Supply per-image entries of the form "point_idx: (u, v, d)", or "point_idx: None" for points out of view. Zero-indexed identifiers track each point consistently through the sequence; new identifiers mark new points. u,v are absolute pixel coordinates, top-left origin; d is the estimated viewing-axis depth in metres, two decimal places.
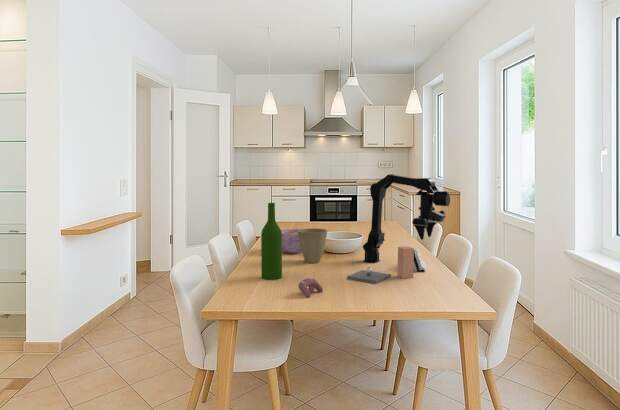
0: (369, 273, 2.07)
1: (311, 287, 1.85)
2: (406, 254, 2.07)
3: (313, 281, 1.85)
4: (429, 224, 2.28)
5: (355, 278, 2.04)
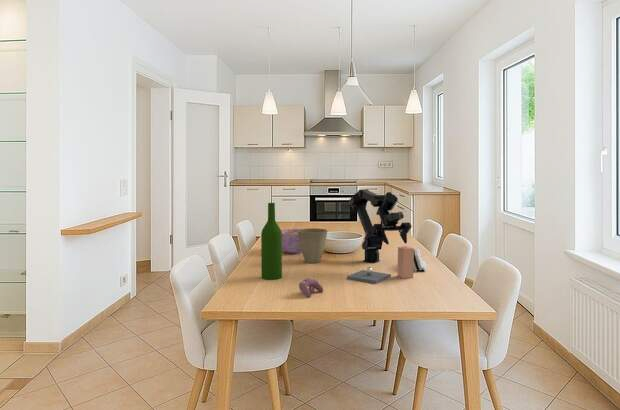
0: (369, 273, 2.07)
1: (311, 287, 1.85)
2: (406, 254, 2.07)
3: (313, 281, 1.85)
4: (402, 233, 2.22)
5: (355, 278, 2.04)
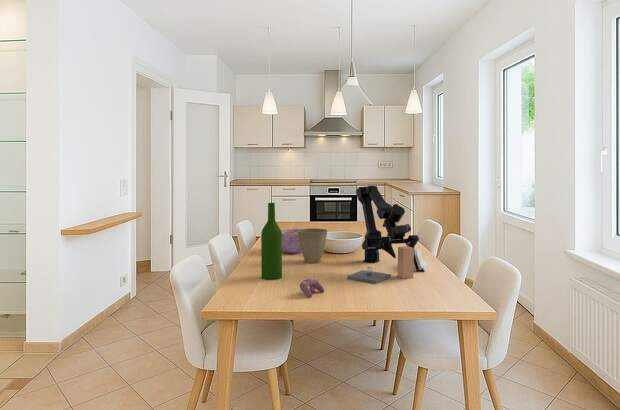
0: (369, 273, 2.07)
1: (312, 287, 1.85)
2: (406, 254, 2.07)
3: (314, 281, 1.85)
4: (409, 245, 2.16)
5: (355, 278, 2.04)
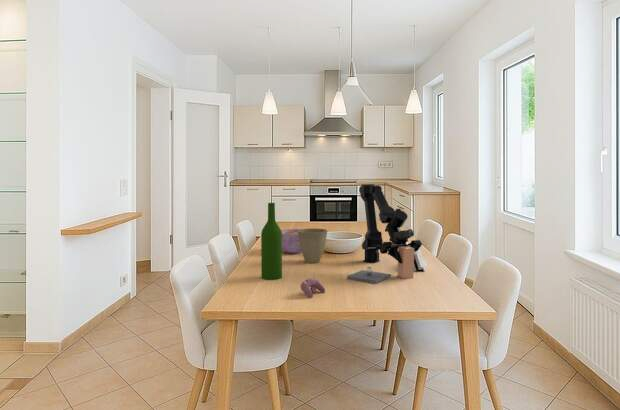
0: (369, 273, 2.07)
1: (313, 287, 1.85)
2: (406, 254, 2.07)
3: (315, 281, 1.85)
4: None
5: (355, 278, 2.04)
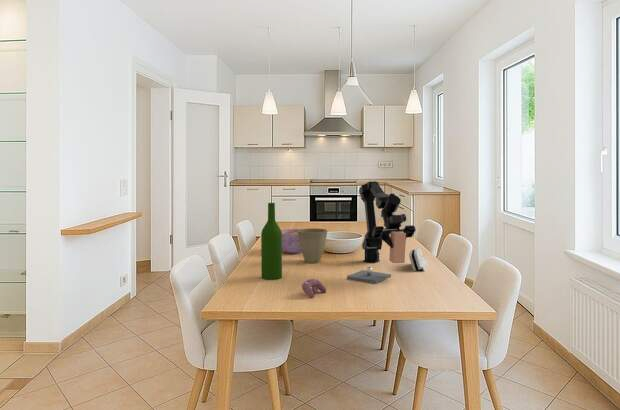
0: (369, 273, 2.07)
1: (314, 288, 1.84)
2: (397, 239, 2.05)
3: (316, 282, 1.84)
4: None
5: (355, 278, 2.04)
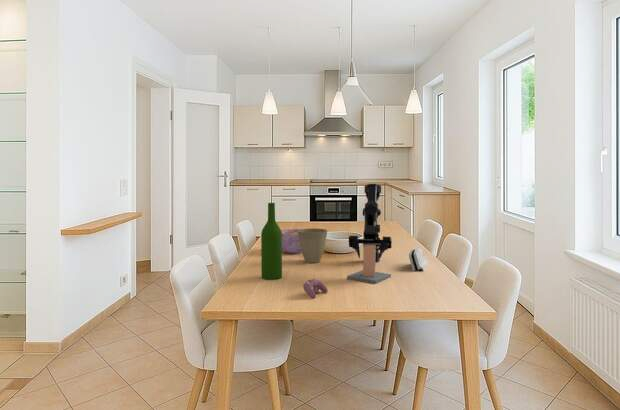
0: None
1: (316, 288, 1.84)
2: (366, 252, 2.05)
3: (318, 282, 1.84)
4: None
5: (355, 278, 2.04)
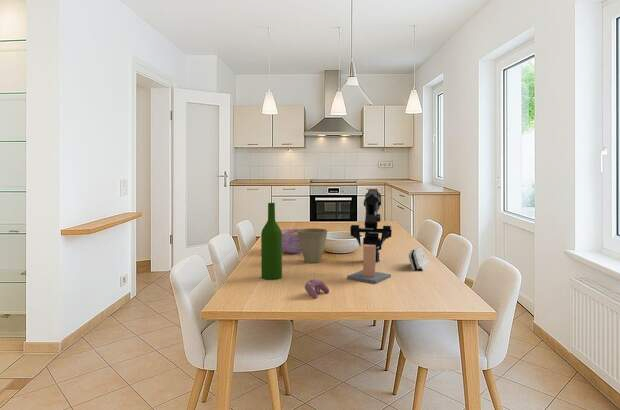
0: None
1: (317, 288, 1.84)
2: (366, 252, 2.05)
3: (319, 282, 1.84)
4: None
5: (355, 278, 2.04)
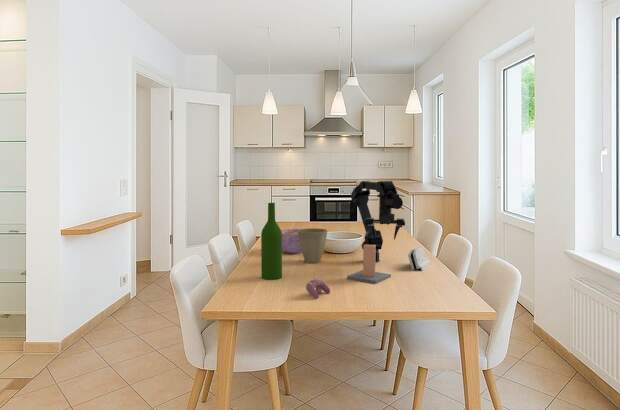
0: None
1: (318, 288, 1.83)
2: (366, 252, 2.05)
3: (320, 282, 1.83)
4: (395, 227, 2.29)
5: (355, 278, 2.04)
